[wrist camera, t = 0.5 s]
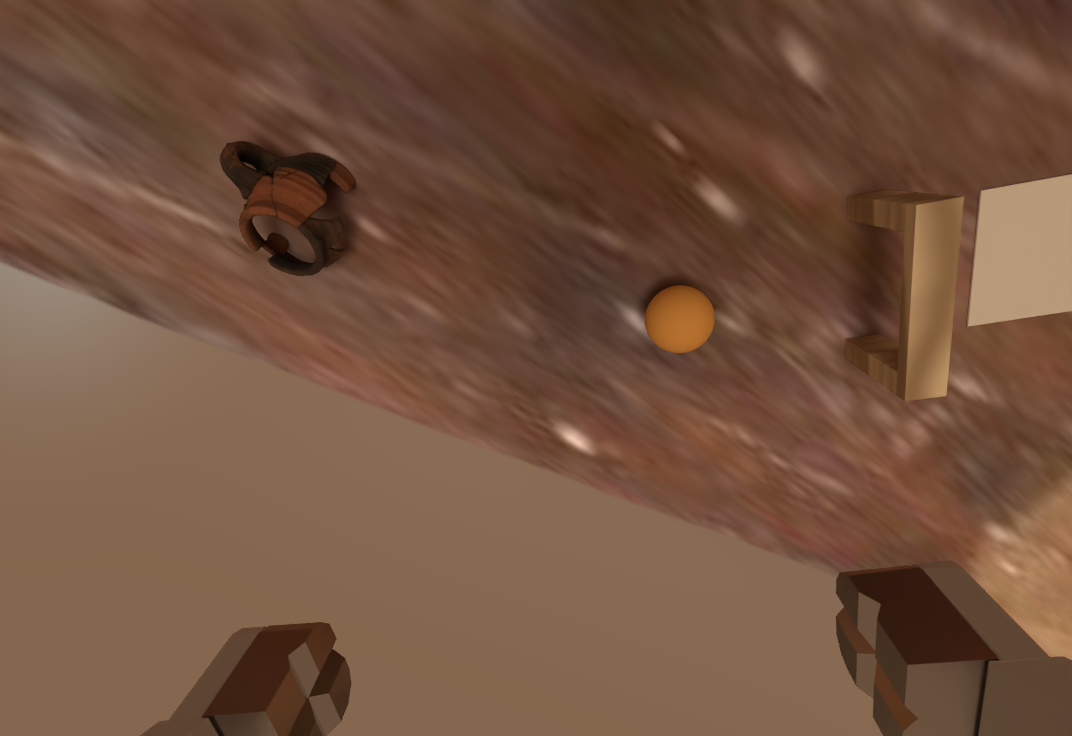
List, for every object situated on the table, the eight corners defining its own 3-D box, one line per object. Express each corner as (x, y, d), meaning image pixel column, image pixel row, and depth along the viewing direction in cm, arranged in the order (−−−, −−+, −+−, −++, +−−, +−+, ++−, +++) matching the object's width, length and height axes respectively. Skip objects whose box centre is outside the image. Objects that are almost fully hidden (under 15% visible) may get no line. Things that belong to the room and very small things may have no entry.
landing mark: (979, 190, 44) (981, 190, 44) (1140, 161, 43) (1143, 161, 42) (966, 325, 48) (967, 326, 48) (1112, 303, 47) (1114, 304, 47)
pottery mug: (389, 195, 48) (350, 252, 43) (344, 246, 54) (305, 300, 49) (267, 92, 43) (206, 143, 38) (233, 161, 49) (176, 212, 44)
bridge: (845, 358, 50) (904, 401, 41) (847, 196, 45) (916, 205, 36) (878, 353, 50) (946, 395, 41) (885, 189, 45) (963, 196, 36)
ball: (637, 285, 49) (645, 300, 43) (703, 273, 48) (720, 288, 43) (645, 345, 51) (653, 367, 46) (708, 335, 50) (724, 356, 45)
